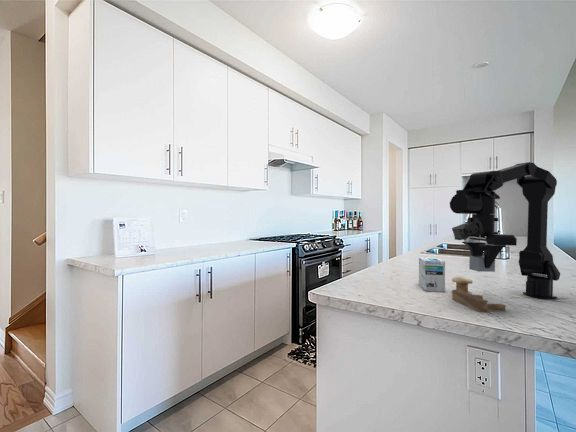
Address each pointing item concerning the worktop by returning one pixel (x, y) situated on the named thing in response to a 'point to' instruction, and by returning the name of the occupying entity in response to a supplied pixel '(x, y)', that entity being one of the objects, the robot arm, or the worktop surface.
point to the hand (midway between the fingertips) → (482, 266)
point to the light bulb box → (432, 274)
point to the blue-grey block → (480, 264)
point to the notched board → (475, 302)
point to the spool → (462, 284)
